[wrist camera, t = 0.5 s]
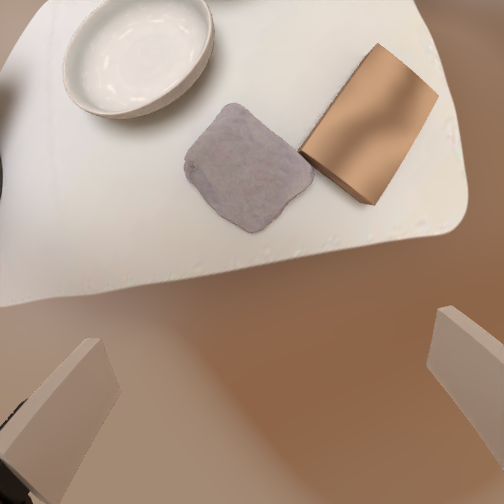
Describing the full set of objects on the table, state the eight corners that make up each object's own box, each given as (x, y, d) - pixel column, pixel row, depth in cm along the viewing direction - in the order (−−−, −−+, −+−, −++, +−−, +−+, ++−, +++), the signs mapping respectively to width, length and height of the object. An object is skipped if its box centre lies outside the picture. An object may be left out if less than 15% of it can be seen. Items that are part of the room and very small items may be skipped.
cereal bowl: (240, 93, 27) (236, 69, 21) (108, 151, 29) (75, 146, 22) (198, -7, 24) (187, -38, 17) (84, 48, 25) (57, 29, 18)
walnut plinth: (295, 154, 29) (301, 149, 25) (365, 56, 26) (377, 42, 22) (360, 202, 30) (374, 205, 26) (421, 102, 27) (438, 95, 23)
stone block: (260, 234, 33) (320, 170, 29) (254, 249, 29) (323, 174, 25) (183, 169, 32) (236, 101, 28) (164, 173, 27) (225, 93, 24)
